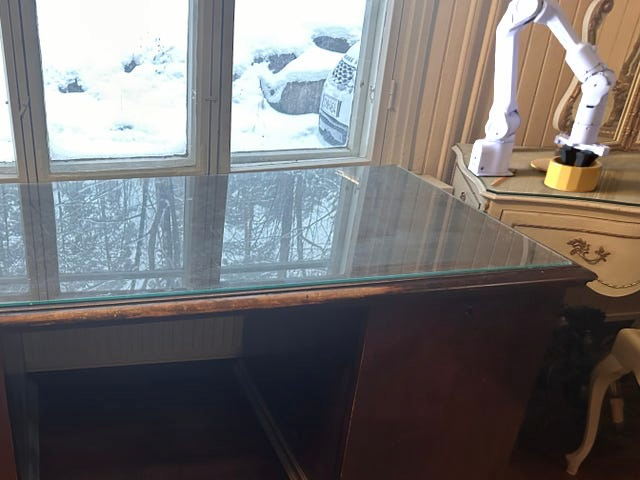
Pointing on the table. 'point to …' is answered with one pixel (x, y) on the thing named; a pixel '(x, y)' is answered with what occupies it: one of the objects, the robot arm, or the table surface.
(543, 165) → the pot lid
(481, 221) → the table surface
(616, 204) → the table surface
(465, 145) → the table surface
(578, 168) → the pot
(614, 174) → the table surface
